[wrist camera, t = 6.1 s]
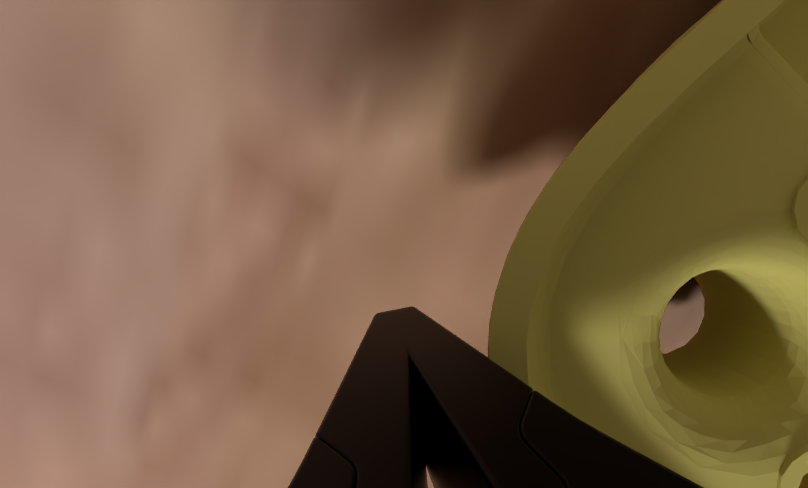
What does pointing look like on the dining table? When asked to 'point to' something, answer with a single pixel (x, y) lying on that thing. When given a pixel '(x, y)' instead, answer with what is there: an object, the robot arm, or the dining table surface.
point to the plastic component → (680, 258)
